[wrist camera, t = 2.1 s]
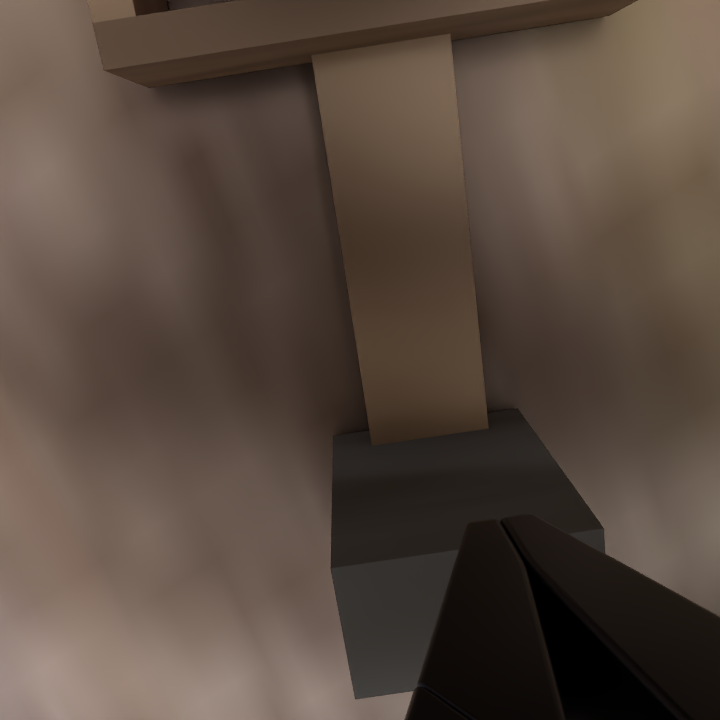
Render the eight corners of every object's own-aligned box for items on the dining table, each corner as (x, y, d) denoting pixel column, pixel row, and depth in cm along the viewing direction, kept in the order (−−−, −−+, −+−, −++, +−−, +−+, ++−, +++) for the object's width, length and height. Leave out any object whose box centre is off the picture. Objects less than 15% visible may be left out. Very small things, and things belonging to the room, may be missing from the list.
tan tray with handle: (624, 492, 18) (753, 642, 13) (252, 546, 19) (213, 719, 13) (588, -634, 12) (828, -1395, 6) (8, -535, 12) (-301, -1187, 6)
